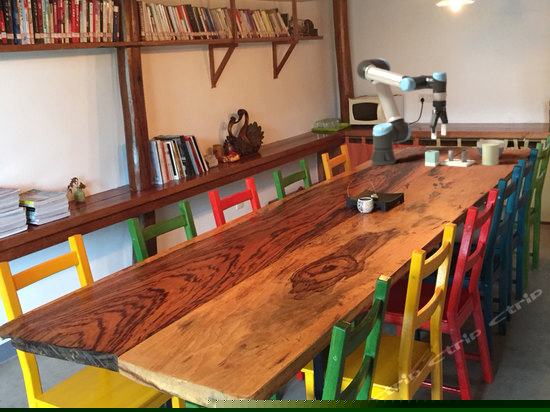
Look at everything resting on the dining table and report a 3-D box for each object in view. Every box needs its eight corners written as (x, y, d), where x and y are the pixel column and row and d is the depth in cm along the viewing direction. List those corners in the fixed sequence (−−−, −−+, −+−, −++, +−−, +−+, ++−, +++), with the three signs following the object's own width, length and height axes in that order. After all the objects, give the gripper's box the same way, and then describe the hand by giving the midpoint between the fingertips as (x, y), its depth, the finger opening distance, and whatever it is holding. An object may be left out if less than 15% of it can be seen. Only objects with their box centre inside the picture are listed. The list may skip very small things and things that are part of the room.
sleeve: (425, 165, 371) (425, 152, 369) (429, 163, 375) (429, 150, 373) (434, 166, 367) (434, 152, 365) (439, 164, 371) (439, 150, 369)
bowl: (508, 159, 373) (508, 143, 371) (481, 160, 374) (481, 144, 371) (499, 154, 389) (499, 139, 386) (473, 156, 389) (473, 140, 387)
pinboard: (440, 164, 370) (440, 152, 368) (448, 161, 379) (448, 148, 377) (466, 166, 360) (466, 153, 358) (474, 162, 369) (475, 150, 367)
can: (499, 165, 358) (500, 144, 355) (482, 165, 360) (483, 144, 357) (497, 162, 367) (498, 141, 364) (480, 162, 369) (481, 142, 366)
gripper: (436, 102, 349) (436, 140, 355) (454, 97, 368) (453, 133, 374) (423, 102, 354) (423, 140, 359) (442, 97, 373) (441, 133, 378)
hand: (438, 137), depth 367 cm, fingers open, 13 cm apart
